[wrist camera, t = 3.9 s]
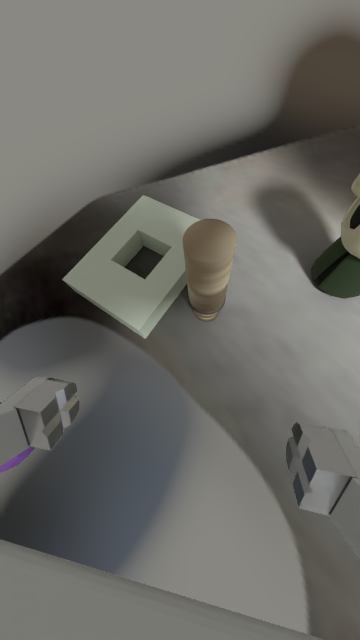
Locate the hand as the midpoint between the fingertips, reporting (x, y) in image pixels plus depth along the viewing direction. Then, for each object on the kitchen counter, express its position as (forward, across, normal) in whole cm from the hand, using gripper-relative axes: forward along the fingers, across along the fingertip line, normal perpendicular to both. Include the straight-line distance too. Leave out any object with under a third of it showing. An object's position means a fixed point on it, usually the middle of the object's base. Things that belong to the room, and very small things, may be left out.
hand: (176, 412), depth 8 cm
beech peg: (+19, 0, +3) cm, 19 cm away
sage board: (+23, +9, -1) cm, 24 cm away
